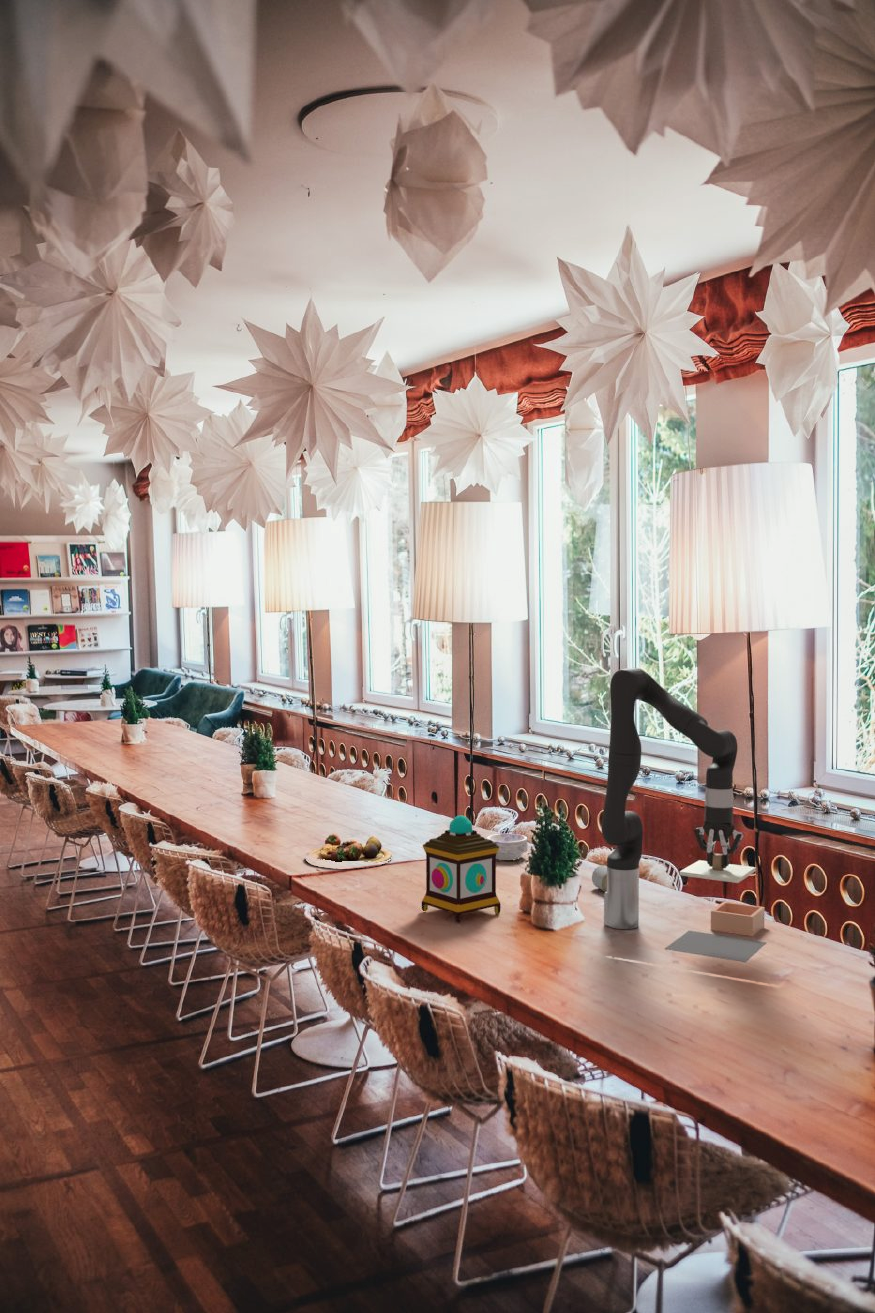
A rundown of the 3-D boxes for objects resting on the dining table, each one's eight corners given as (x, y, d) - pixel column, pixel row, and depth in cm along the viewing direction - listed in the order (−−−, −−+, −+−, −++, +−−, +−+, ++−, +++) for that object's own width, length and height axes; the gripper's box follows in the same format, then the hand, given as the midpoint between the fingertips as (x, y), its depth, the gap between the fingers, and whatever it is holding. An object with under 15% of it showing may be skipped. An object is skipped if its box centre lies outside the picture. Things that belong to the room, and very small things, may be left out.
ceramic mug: (602, 894, 362) (602, 871, 362) (591, 888, 370) (591, 865, 370) (631, 892, 366) (632, 869, 365) (620, 886, 374) (620, 863, 373)
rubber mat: (664, 950, 303) (664, 948, 303) (689, 932, 320) (689, 930, 320) (745, 964, 292) (745, 962, 292) (766, 944, 309) (766, 942, 309)
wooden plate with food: (298, 854, 424) (297, 832, 424) (379, 847, 434) (379, 826, 433) (314, 875, 394) (313, 852, 393) (401, 868, 403) (401, 845, 403)
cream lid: (679, 875, 304) (679, 856, 304) (699, 863, 318) (699, 846, 317) (737, 883, 296) (738, 864, 295) (755, 870, 309) (755, 852, 309)
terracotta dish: (710, 931, 321) (710, 910, 321) (723, 921, 331) (723, 901, 331) (752, 938, 315) (752, 916, 315) (764, 927, 325) (764, 907, 325)
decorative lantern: (457, 926, 327) (456, 824, 326) (414, 912, 342) (414, 814, 341) (507, 914, 340) (507, 815, 338) (464, 901, 355) (464, 806, 354)
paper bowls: (481, 861, 410) (481, 840, 410) (492, 852, 425) (492, 832, 424) (522, 864, 406) (522, 842, 405) (531, 855, 420) (531, 834, 420)
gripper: (689, 803, 306) (688, 866, 307) (740, 808, 299) (739, 873, 300) (698, 799, 313) (697, 861, 313) (748, 804, 305) (747, 867, 306)
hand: (718, 866), depth 306 cm, fingers closed on cream lid, 3 cm apart
